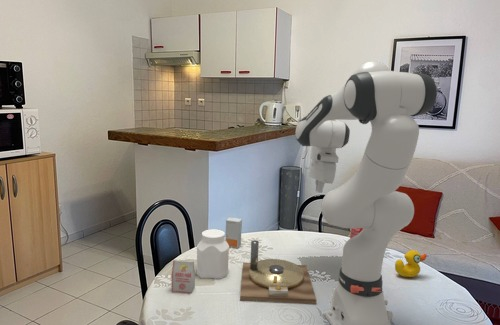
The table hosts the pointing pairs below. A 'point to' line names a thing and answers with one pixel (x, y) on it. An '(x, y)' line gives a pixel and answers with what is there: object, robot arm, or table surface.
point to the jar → (212, 255)
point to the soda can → (355, 232)
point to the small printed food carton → (183, 276)
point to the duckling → (410, 264)
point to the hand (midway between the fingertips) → (318, 192)
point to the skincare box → (233, 232)
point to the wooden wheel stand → (277, 290)
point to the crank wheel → (273, 271)
